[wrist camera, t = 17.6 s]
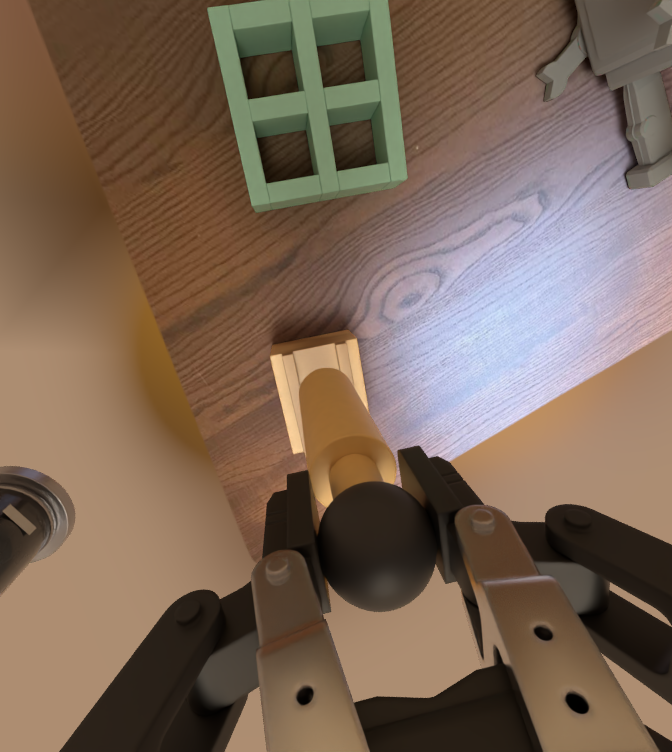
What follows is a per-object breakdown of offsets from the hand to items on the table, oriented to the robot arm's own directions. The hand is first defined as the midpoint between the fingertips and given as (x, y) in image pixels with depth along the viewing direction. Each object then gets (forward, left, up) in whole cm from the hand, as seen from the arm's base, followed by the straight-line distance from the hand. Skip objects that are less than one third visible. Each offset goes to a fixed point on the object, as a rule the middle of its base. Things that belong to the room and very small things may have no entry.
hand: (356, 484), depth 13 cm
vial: (0, -2, -3) cm, 3 cm away
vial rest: (0, -5, -27) cm, 27 cm away
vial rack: (+4, +19, -27) cm, 33 cm away
